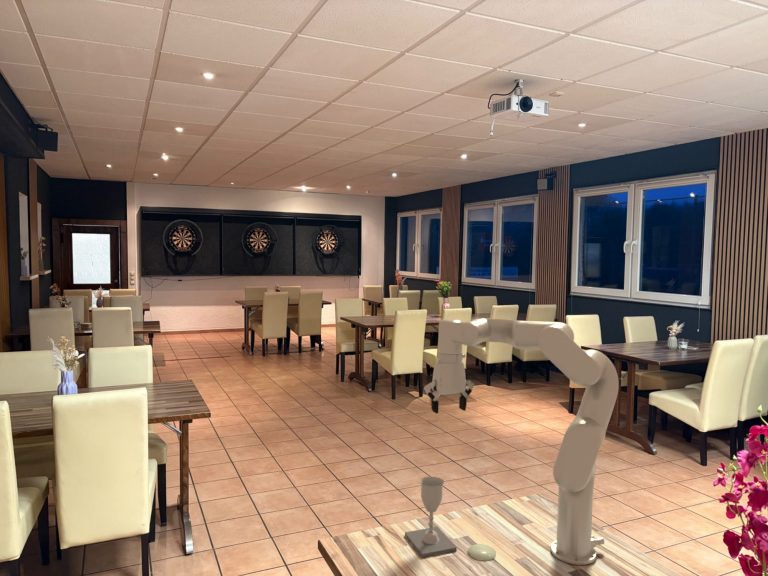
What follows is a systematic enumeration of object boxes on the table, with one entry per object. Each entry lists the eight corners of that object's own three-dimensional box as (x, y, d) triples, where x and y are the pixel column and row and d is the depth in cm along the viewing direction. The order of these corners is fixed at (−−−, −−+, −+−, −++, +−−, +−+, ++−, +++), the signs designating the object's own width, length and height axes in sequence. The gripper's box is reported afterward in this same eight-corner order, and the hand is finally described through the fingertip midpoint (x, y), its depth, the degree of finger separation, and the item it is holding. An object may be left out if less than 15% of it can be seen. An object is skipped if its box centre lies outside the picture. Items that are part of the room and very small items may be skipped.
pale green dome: (475, 543, 171) (475, 541, 171) (500, 552, 166) (500, 549, 166) (463, 555, 164) (463, 552, 164) (489, 565, 160) (489, 562, 160)
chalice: (443, 534, 173) (444, 477, 172) (443, 546, 167) (444, 486, 165) (419, 533, 174) (420, 476, 173) (418, 544, 167) (419, 485, 166)
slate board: (437, 529, 178) (437, 526, 178) (456, 550, 166) (456, 547, 166) (404, 535, 175) (404, 532, 175) (422, 557, 162) (422, 554, 162)
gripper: (468, 354, 187) (467, 405, 188) (420, 357, 181) (419, 410, 182) (479, 358, 180) (478, 411, 181) (430, 362, 174) (429, 416, 175)
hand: (448, 410), depth 182 cm, fingers open, 9 cm apart
